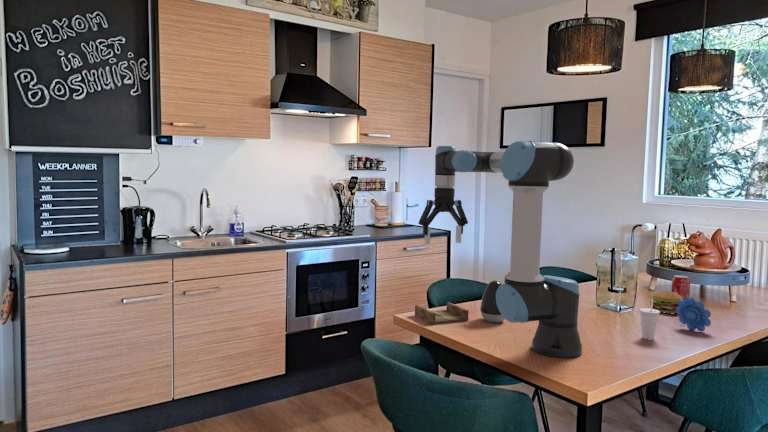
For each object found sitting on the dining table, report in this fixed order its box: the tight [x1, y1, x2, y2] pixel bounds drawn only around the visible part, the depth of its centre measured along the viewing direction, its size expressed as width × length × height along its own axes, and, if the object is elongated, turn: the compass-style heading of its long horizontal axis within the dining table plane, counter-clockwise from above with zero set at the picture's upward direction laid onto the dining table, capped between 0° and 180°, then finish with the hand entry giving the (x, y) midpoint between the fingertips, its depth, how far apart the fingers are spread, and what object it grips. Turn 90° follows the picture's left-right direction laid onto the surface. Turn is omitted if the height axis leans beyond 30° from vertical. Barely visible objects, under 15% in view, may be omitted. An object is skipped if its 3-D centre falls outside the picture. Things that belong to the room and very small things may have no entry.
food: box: [649, 291, 682, 314], centre depth 233 cm, size 14×14×8 cm
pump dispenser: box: [480, 280, 506, 324], centre depth 211 cm, size 10×10×15 cm
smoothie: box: [639, 297, 661, 341], centre depth 193 cm, size 6×6×14 cm
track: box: [414, 301, 469, 326], centre depth 213 cm, size 14×15×4 cm
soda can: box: [670, 274, 691, 301], centre depth 247 cm, size 7×7×12 cm
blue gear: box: [676, 296, 712, 332], centre depth 203 cm, size 12×7×12 cm, turn 46°
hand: (442, 243), depth 215 cm, fingers open, 13 cm apart
